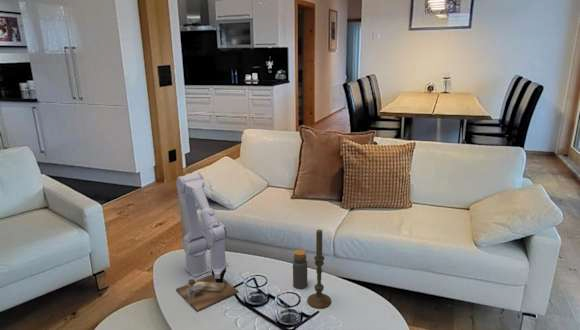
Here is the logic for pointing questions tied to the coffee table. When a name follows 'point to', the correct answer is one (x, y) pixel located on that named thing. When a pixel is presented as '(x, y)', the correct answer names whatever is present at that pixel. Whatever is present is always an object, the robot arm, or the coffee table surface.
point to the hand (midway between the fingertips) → (219, 284)
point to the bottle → (300, 269)
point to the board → (207, 294)
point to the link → (207, 285)
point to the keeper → (193, 289)
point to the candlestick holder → (319, 278)
